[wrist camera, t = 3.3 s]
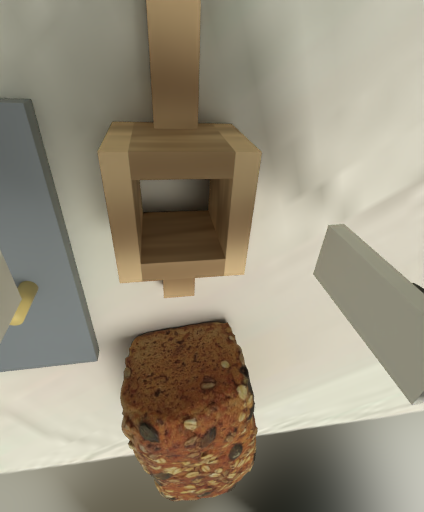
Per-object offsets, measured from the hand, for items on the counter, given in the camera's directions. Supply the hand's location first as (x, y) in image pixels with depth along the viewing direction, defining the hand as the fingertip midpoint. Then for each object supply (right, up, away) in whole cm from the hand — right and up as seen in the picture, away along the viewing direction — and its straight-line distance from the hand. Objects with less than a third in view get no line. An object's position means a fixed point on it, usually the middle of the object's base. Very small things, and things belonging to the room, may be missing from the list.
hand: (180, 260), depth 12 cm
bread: (-1, -13, +21) cm, 25 cm away
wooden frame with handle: (-1, +5, +7) cm, 9 cm away
